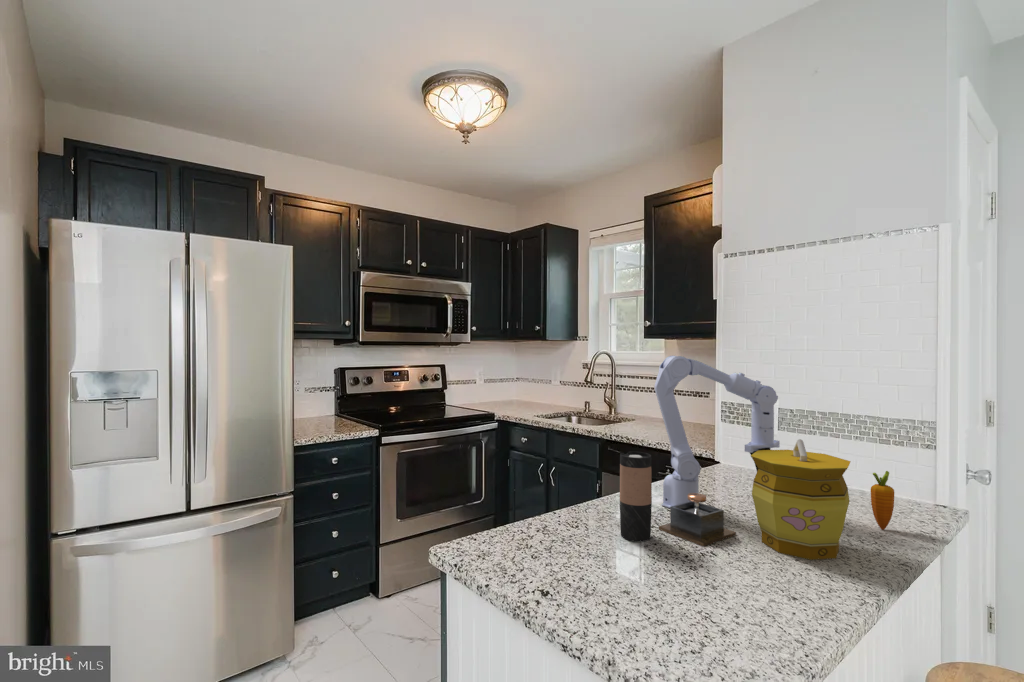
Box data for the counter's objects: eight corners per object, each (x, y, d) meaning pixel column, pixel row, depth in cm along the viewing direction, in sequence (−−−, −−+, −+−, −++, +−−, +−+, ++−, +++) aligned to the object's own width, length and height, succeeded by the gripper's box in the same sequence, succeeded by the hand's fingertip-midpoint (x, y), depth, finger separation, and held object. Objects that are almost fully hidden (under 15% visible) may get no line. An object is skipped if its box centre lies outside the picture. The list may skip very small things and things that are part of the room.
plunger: (677, 514, 126) (677, 494, 126) (694, 510, 130) (694, 490, 130) (699, 522, 121) (699, 501, 121) (716, 517, 124) (716, 496, 124)
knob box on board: (658, 529, 127) (658, 505, 127) (691, 519, 134) (691, 497, 134) (703, 546, 116) (703, 520, 116) (736, 535, 123) (736, 510, 124)
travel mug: (652, 543, 118) (652, 458, 118) (619, 540, 120) (619, 457, 120) (650, 531, 125) (650, 452, 126) (619, 529, 127) (619, 450, 127)
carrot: (872, 531, 127) (872, 471, 127) (869, 525, 131) (868, 467, 131) (896, 534, 124) (896, 474, 125) (892, 528, 129) (892, 470, 129)
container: (834, 534, 124) (834, 434, 125) (870, 571, 104) (870, 450, 104) (742, 526, 130) (742, 430, 130) (759, 559, 110) (759, 445, 110)
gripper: (761, 431, 134) (761, 481, 134) (790, 427, 142) (790, 474, 142) (737, 427, 140) (737, 476, 140) (766, 423, 148) (765, 469, 148)
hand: (762, 475), depth 142 cm, fingers closed
